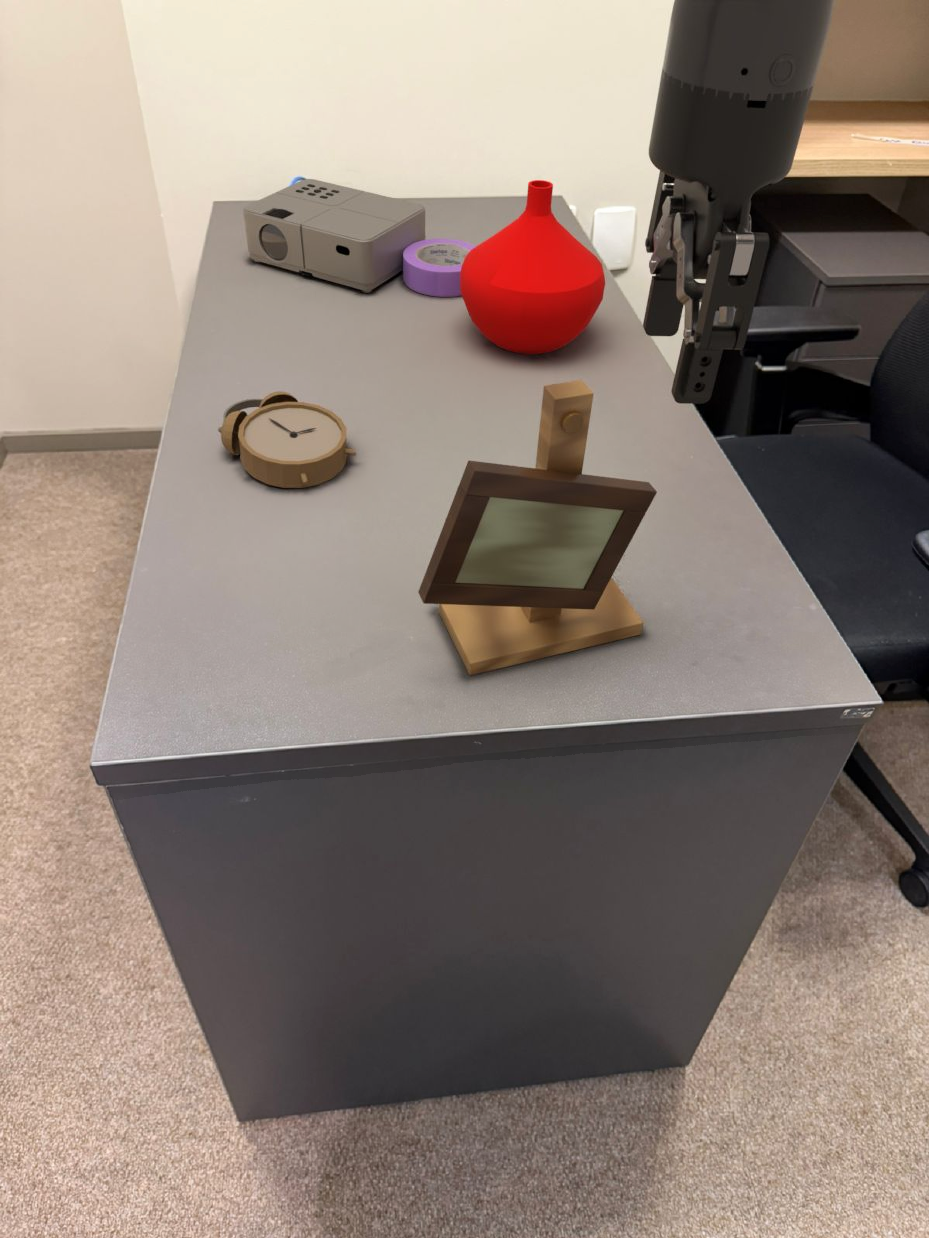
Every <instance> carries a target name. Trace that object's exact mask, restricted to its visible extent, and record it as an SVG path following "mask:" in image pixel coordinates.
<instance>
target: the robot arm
mask: <svg viewBox="0 0 929 1238" xmlns="http://www.w3.org/2000/svg"><path fill="white" fill-rule="evenodd" d="M834 5H835V0H674V1H673V4H672V11H671V14H670V21H669V26H668V32H667V39H666V45H665V51H664V56H663V64H662V67H661V73H660V80H659V86H658V92H657V97H656V98H657V99H656V104H655V109H654V115H653V121H652V127H651V133H650V139H649V144H648V145H649V146H648V156H649V157H648V158H649V160H650V162H651V163H652V165H653V166H654V167H655V168H656V169H657V170H658V171H659V173H658V179H657V183H656V190H655V194H654V199H653V205H652V208H651V209H652V210H651V215H650V219H649V224H648V229H647V236H646V238H645V241H644V246H645V251H646V253H648V254H651V257H650V260H649V261H648V262H649V263H648V268H649V273H650V275H652V276H651V281H650V285H649V291H648V297H647V301H646V307H645V312H644V318H643V322H642V327H643V330H644V333H645V334H646V335H647V336H649V337H673V336H675V335H676V334H677V333H678V331H679V328H680V325H681V320H682V315H683V309H684V323H683V333H682V335H683V338H682V342H681V346H680V350H679V355H678V360H677V364H676V369H675V373H674V377H673V381H672V387H671V396H672V398H673V400H674V402H675V403H677V404H681V405H682V404H689V405H691V404H694V405H695V404H696V405H700V404H701V405H702V404H703V405H704V404H706V403H707V402H709V401H710V400H711V398H712V394H713V390H714V388H715V383H716V379H717V375H718V372H719V367H720V364H721V363H720V362H721V360H722V356H723V352H724V350H732V351H737V350H738V351H742V350H743V349H744V348H745V344H746V341H747V337H748V334H749V329H750V325H751V321H752V317H753V312H754V309H755V305H756V301H757V297H758V292H759V288H760V285H761V280H762V276H763V273H764V269H765V264H766V260H767V258H768V257H767V256H768V253H769V249H770V236H769V233H768V232H753V231H752V216H751V213H750V212H751V206H752V205H751V204H752V200H751V199H752V197H753V195H754V194H755V193H756V192H757V191H759V190H760V189H761V188H764V187H765V186H772V185H774V184H777V183H779V182H780V181H782V180H783V179H785V178H786V177H787V176H788V175H789V173H790V172H791V170H792V167H793V163H794V159H795V156H796V153H797V149H798V145H799V141H800V139H801V138H800V137H801V135H802V130H803V127H804V123H805V119H806V116H807V111H808V108H809V105H810V101H811V97H812V94H813V90H814V87H815V83H816V79H817V75H818V72H819V68H820V64H821V60H822V56H823V53H824V49H825V46H826V42H827V39H828V35H829V31H830V26H831V22H832V17H833V11H834ZM696 280H705V282H698V281H696ZM717 311H718V321H715V317H716V313H717Z"/></svg>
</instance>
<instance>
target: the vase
mask: <svg viewBox="0 0 929 1238" xmlns="http://www.w3.org/2000/svg"><path fill="white" fill-rule="evenodd" d="M553 190H554V184H553V183H552V182H551V181H548V180H543V179H535V180H530V181H529V182H528V183H527V193H526V204H525V209H524V210H523V212H522V213H521V214H520V215H519V217H518V218H516V219H515V220H513V221H512V222H510V223H508V225H506V226H504V227H503V228H502V229H500V230H499V231H498V232H496V233H495V234H494V235H492V236H490V237H488V238H487V239H485V240H484V241H483V242H481V243H479V244H478V245H475V246H476V247H475V248H473V249H472V250H471V251H470V252H469V253H468V254H467V255H466V257H465V259H464V262H463V264H462V267H461V273H460V292H461V294H462V296H461V297H462V299H463V302H464V305H465V307H466V311H467V313H468V315H469V318H470V319H471V321H472V323H473V324H474V325H475V327H476V328H477V329H478V331H479V332H480V333H481V334H482V335H483V336H484V337H485V338H486V339H487V340H489V341H490V342H491V343H492V344H494V345H496V346H497V347H499V348H501V349H503V350H506V351H509V352H512V353H517V354H523V355H540V354H541V355H542V354H547V353H552V352H554V351H556V350H558V349H561V348H563V347H564V346H566V345H568V344H570V343H571V342H572V341H574V340H575V339H576V338H577V337H578V336H580V334H581V333H583V331H584V330H585V329H587V327H588V326H589V324H590V322H591V321H592V319H593V318H594V316H595V314H596V312H597V311H598V309H599V307H600V305H601V303H602V301H603V299H604V294H605V288H606V277H605V272H604V268H603V263H602V262H601V261H600V260H599V258H598V257H597V255H595V254H594V253H593V252H592V251H591V250H589V249H588V248H587V247H586V246H585V245H584V244H583V243H581V242H580V241H579V240H578V239H577V238H576V237H575V236H573V235H572V233H571V232H569V230H567V229H566V228H565V227H564V226H563V225H562V224H561V223H560V222H559V221H558V220H557V218H556V217H555V215H554V213H553V211H552V201H553Z"/></svg>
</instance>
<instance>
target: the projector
mask: <svg viewBox="0 0 929 1238" xmlns="http://www.w3.org/2000/svg"><path fill="white" fill-rule="evenodd" d="M242 214H243V221H244V229H245V236H246V244H247V251H248V253H249V256H250V258H251V260H253V261H254V262H255V263H264V264H267V265H271V266H275V267H278V268H282V269H285V270H288V271H293V272H295V273H301V275H302V276H305V277H314V278H316V279H317V278H318V279H321V280H325V281H329V282H332V283H335V284H339V285H342V286H346V287H350V288H353V289H357V290H360V291H362V293H365V294H369V293H371V292H372V291H373V290H374V289H376V288H377V287H379V286H381V285H382V284H383V283H385V282H387V281H389V279H391V278H393V277H394V276H396V275H397V274H399V273H401V271H402V272H403V252H404V250H405V249H406V248H407V247H408V246H409V245H411V244H413V243H415V242H418V241H422V240H426V207H425V206H424V205H422V204H420V203H416V202H412V201H407V200H404V199H399V198H395V197H392V196H387V195H382V194H378V193H374V192H369V191H366V190H361V189H357V188H353V187H349V186H344V185H339V184H335V183H333V182H332V183H331V182H327V181H322V180H318V179H314V178H305V179H302V180H299V181H297V182H295V183H293V184H290V185H289V186H286V187H284V188H281V189H280V190H278V191H275V192H273V193H272V194H269V195H267V196H264V197H263V198H261V199H258V200H257V201H254V202H251V203H250V204H248V205H246V206H244V207H243V209H242Z"/></svg>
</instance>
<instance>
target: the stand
mask: <svg viewBox="0 0 929 1238" xmlns="http://www.w3.org/2000/svg"><path fill="white" fill-rule="evenodd" d="M593 400H594V392H593V391H592V390H591V389H590V388H589V386H588V385H587V384H586V383H585V381H584V380H583V379H579V380H572V381H566V382H560V383H553V384H547V385H543V393H542V399H541V401H542V402H541V410H540V412H541V413H540V420H539V431H538V439H537V450H536V458H535V467H534V468H535V469H544V470H552V471H560V472H568V473H577V474H583V469H584V463H585V462H584V461H585V455H586V448H587V441H588V434H589V429H590V421H591V414H592V408H593V407H592V406H593ZM438 614H439V616H440V618H441V619H442V622H443V624H444V626H445V628H446V630H447V632H448V634H449V636H450V638H451V640H452V642H453V645H454V646H455V649H456V651H457V653H458V655H459V657H460V659H461V661H462V662H463V665H464V667H465V670H466V671H467V673H468V676H473V675H477V674H483V673H487V672H490V671H494V670H499V669H503V668H507V667H511V666H515V665H519V664H524V663H527V662H531V661H536V660H540V659H544V658H548V657H552V656H557V655H561V654H564V653H569V652H573V651H579V650H582V649H586V648H590V647H594V646H599V645H602V644H607V643H611V642H615V641H620V640H624V639H627V638H632V637H636V636H640V635H641V634H642V631H643V627H644V621H643V620H642V618H641V617H640V616H639V614H638V613H637V611H636V610H635V609H634V607H633V606H632V604H631V603H630V601H629V600H628V599H627V597H626V596H625V595H624V593H623V592H622V590H621V589H620V587H619V586H618V585H617V583H616V582H615V580H614V579H613V577H611V579H610V581H609V583H608V585H607V586H606V588H605V590H604V592H603V594H602V596H601V598H600V600H599V602H598V604H597V605H596V607H595V609H594V610H591V609H563V608H535V607H507V606H480V605H452V604H438Z"/></svg>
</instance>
